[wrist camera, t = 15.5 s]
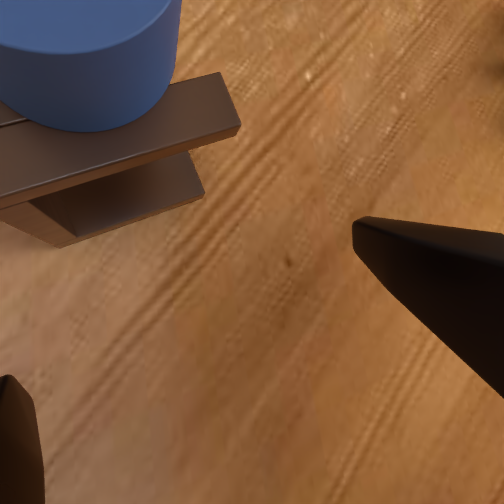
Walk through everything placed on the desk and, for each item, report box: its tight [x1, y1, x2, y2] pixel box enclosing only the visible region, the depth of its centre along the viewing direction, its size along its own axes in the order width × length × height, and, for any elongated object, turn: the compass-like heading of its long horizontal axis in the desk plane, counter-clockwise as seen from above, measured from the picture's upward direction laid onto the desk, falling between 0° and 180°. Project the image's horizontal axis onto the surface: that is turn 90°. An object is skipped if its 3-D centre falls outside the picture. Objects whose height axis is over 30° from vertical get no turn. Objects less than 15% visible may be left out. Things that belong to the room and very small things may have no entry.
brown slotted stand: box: [0, 72, 241, 248], centre depth 17 cm, size 8×8×10 cm
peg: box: [0, 0, 182, 132], centre depth 12 cm, size 6×6×10 cm
